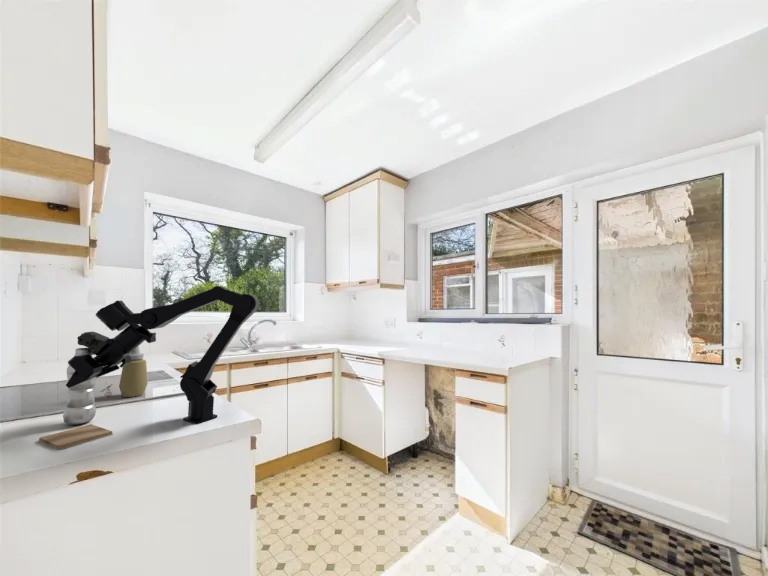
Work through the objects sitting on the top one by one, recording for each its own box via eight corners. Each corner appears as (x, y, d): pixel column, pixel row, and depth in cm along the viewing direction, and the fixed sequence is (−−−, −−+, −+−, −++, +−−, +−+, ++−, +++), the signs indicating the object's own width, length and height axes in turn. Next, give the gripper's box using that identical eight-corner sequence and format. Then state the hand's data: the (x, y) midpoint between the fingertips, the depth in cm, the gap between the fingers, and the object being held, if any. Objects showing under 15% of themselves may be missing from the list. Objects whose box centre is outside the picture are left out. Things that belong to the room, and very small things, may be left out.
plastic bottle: (101, 419, 92) (107, 347, 93) (77, 428, 86) (83, 350, 87) (80, 418, 93) (86, 346, 94) (54, 427, 86) (60, 349, 87)
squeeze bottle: (152, 392, 121) (155, 342, 122) (136, 398, 113) (140, 345, 114) (128, 392, 120) (132, 342, 121) (112, 398, 112) (115, 345, 113)
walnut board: (112, 434, 83) (112, 431, 83) (59, 449, 73) (60, 446, 74) (90, 427, 87) (91, 424, 87) (38, 441, 78) (39, 437, 78)
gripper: (122, 320, 101) (77, 357, 98) (80, 323, 82) (22, 369, 80) (149, 346, 102) (105, 383, 99) (114, 355, 84) (59, 401, 81)
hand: (76, 383), depth 90 cm, fingers closed on plastic bottle, 6 cm apart
